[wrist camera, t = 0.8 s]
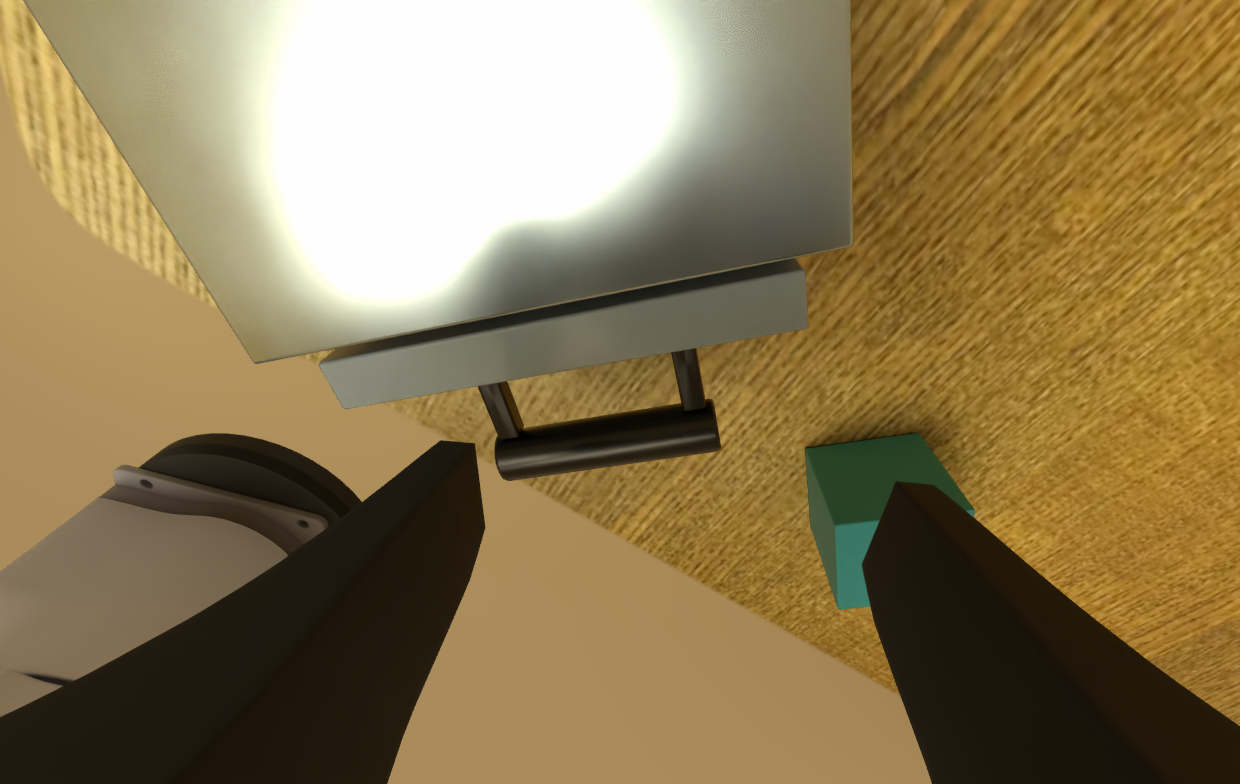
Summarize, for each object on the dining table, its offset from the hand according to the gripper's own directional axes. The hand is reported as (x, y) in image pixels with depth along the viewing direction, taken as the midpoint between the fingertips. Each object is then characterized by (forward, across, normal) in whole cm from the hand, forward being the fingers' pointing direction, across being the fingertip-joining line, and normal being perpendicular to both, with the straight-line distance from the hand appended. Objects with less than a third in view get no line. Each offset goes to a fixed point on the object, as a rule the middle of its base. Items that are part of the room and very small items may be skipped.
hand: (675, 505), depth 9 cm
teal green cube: (+9, -8, +7) cm, 14 cm away
